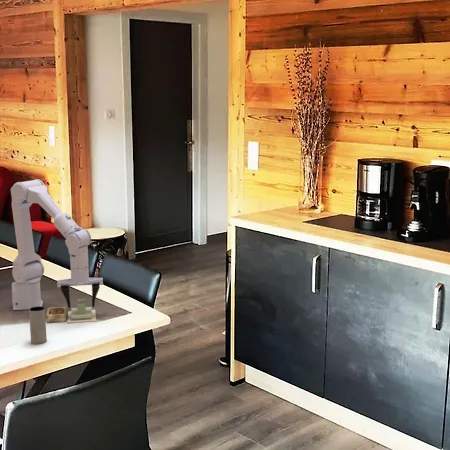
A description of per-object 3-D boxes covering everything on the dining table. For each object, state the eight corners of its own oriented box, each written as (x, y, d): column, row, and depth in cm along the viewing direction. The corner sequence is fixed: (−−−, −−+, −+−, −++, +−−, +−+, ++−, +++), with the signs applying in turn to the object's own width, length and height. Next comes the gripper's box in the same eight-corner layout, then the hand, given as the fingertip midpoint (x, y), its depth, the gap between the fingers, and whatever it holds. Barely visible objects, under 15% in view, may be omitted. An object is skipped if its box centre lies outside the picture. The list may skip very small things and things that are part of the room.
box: (46, 323, 216) (46, 315, 216) (48, 315, 224) (47, 307, 224) (66, 321, 218) (65, 314, 217) (66, 313, 225) (66, 306, 225)
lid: (71, 320, 218) (70, 306, 217) (71, 312, 226) (71, 298, 225) (92, 319, 219) (91, 305, 218) (91, 311, 227) (91, 297, 226)
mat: (67, 323, 216) (67, 322, 216) (68, 312, 227) (68, 311, 227) (95, 321, 218) (95, 320, 218) (95, 310, 229) (95, 309, 228)
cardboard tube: (32, 338, 203) (30, 306, 201) (47, 338, 203) (46, 305, 201) (29, 344, 198) (27, 311, 196) (45, 344, 199) (43, 310, 197)
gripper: (56, 271, 214) (58, 311, 216) (102, 268, 217) (103, 308, 219) (57, 265, 220) (59, 305, 223) (101, 263, 223) (103, 302, 226)
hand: (81, 306), depth 222 cm, fingers open, 7 cm apart
